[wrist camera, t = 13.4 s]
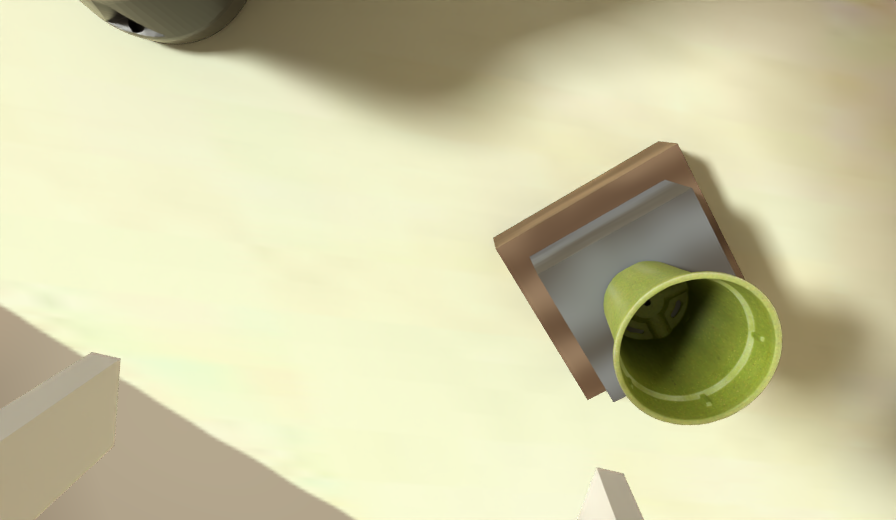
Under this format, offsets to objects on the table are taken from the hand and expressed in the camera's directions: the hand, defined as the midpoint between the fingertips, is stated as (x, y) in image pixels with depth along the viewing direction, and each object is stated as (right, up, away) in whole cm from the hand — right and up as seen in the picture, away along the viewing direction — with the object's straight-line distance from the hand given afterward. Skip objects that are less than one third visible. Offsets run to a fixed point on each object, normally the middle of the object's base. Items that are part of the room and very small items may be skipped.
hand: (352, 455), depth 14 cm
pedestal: (+18, +5, +32) cm, 37 cm away
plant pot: (+17, +2, +24) cm, 29 cm away
